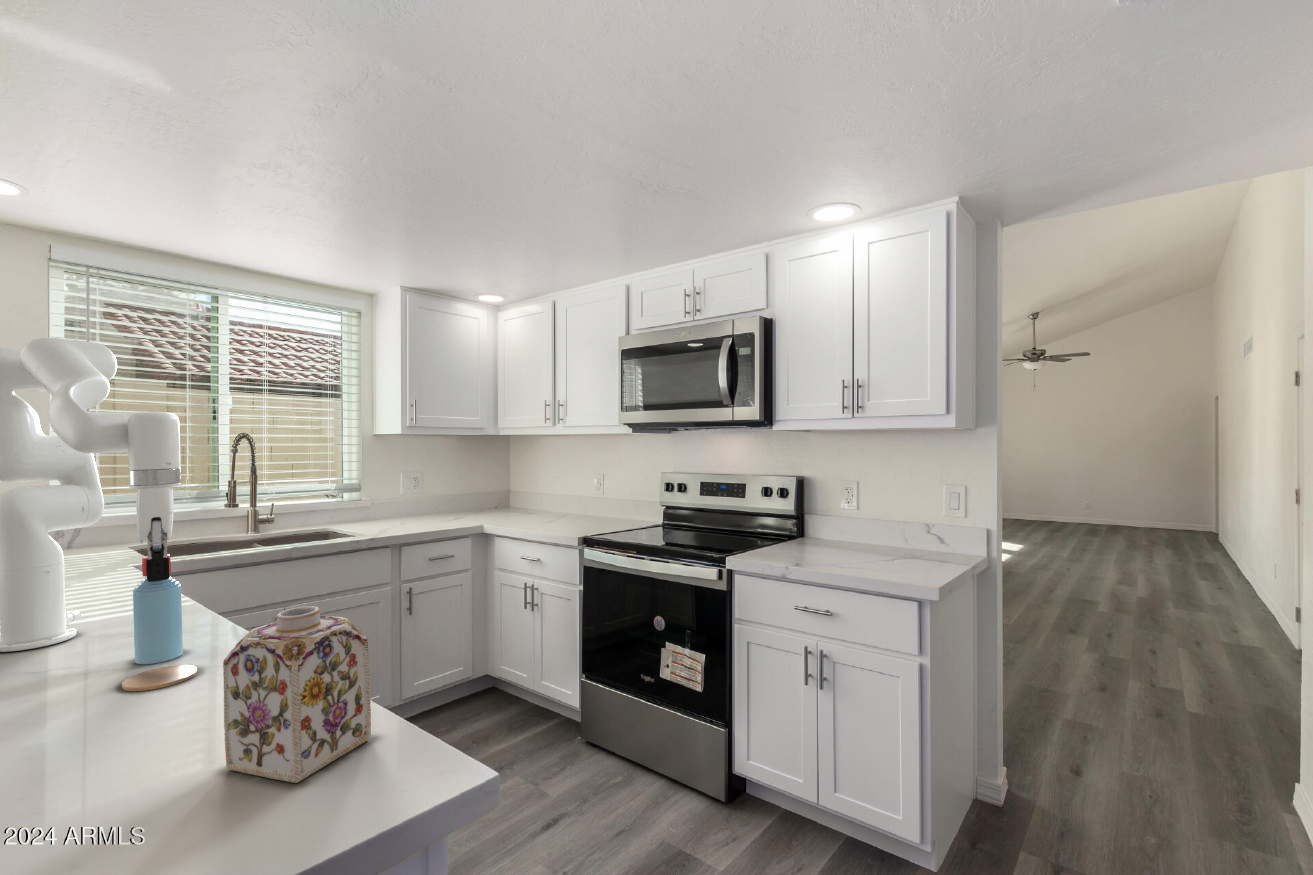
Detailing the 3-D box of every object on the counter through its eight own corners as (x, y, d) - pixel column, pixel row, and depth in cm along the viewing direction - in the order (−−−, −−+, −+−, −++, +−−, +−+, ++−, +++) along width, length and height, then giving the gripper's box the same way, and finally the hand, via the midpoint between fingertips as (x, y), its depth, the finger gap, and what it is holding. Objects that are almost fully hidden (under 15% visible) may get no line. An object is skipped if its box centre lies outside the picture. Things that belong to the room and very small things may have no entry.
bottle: (150, 652, 121) (147, 557, 120) (190, 649, 122) (188, 555, 122) (125, 665, 114) (122, 565, 114) (168, 662, 115) (165, 563, 115)
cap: (162, 575, 116) (161, 557, 116) (137, 577, 115) (136, 559, 115) (175, 571, 120) (175, 553, 120) (151, 572, 119) (151, 554, 119)
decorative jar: (374, 739, 83) (370, 601, 83) (297, 786, 72) (293, 627, 72) (304, 727, 87) (300, 596, 87) (221, 770, 76) (217, 620, 76)
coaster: (147, 670, 111) (147, 667, 111) (209, 666, 112) (209, 662, 112) (106, 693, 101) (105, 689, 101) (174, 688, 102) (174, 684, 102)
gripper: (131, 478, 122) (134, 574, 122) (126, 482, 109) (130, 589, 109) (180, 476, 127) (183, 568, 127) (181, 479, 113) (184, 582, 113)
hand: (158, 577), depth 118 cm, fingers closed on cap, 4 cm apart
